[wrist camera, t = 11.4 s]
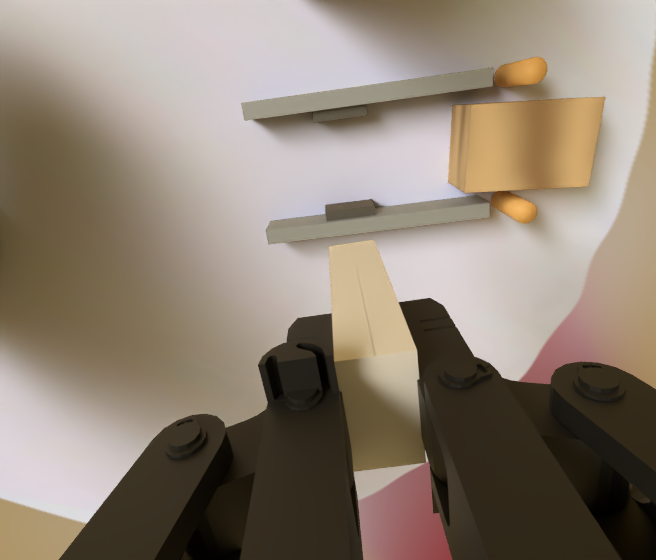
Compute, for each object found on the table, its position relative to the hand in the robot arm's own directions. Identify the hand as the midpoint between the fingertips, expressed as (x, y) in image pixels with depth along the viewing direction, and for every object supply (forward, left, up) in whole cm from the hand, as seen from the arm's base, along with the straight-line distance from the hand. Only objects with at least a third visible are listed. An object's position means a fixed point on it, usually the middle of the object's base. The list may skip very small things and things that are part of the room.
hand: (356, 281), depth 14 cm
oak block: (+14, +1, -23) cm, 27 cm away
